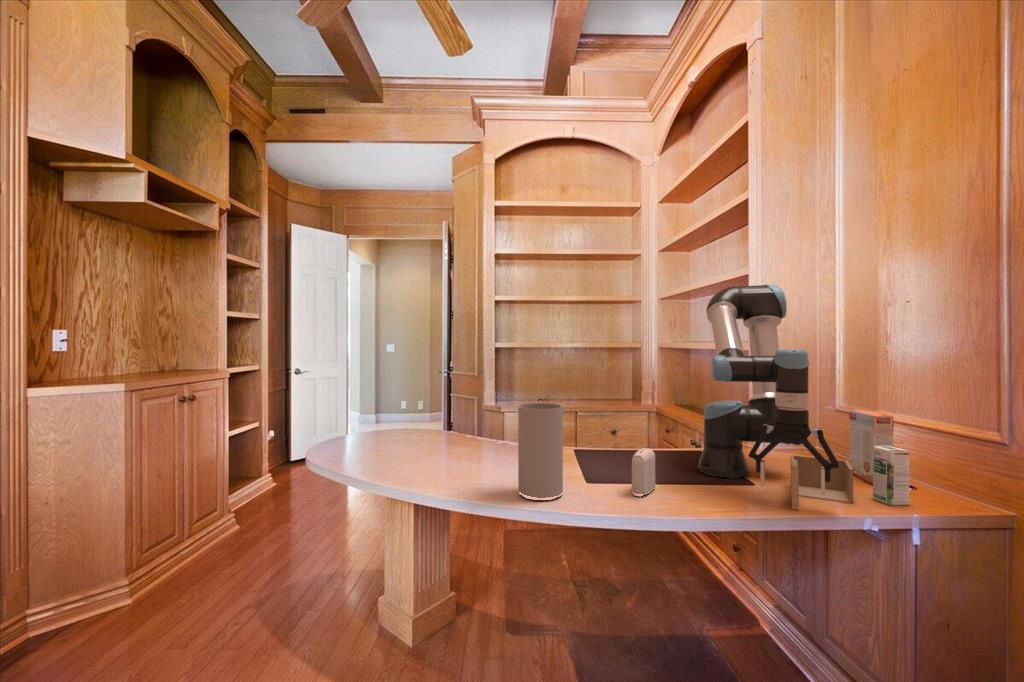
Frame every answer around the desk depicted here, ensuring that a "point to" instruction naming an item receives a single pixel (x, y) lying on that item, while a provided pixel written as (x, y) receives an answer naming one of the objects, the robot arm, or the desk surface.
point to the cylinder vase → (540, 449)
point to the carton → (834, 490)
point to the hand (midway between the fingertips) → (792, 489)
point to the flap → (794, 485)
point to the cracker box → (868, 439)
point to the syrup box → (891, 475)
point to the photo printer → (643, 471)
